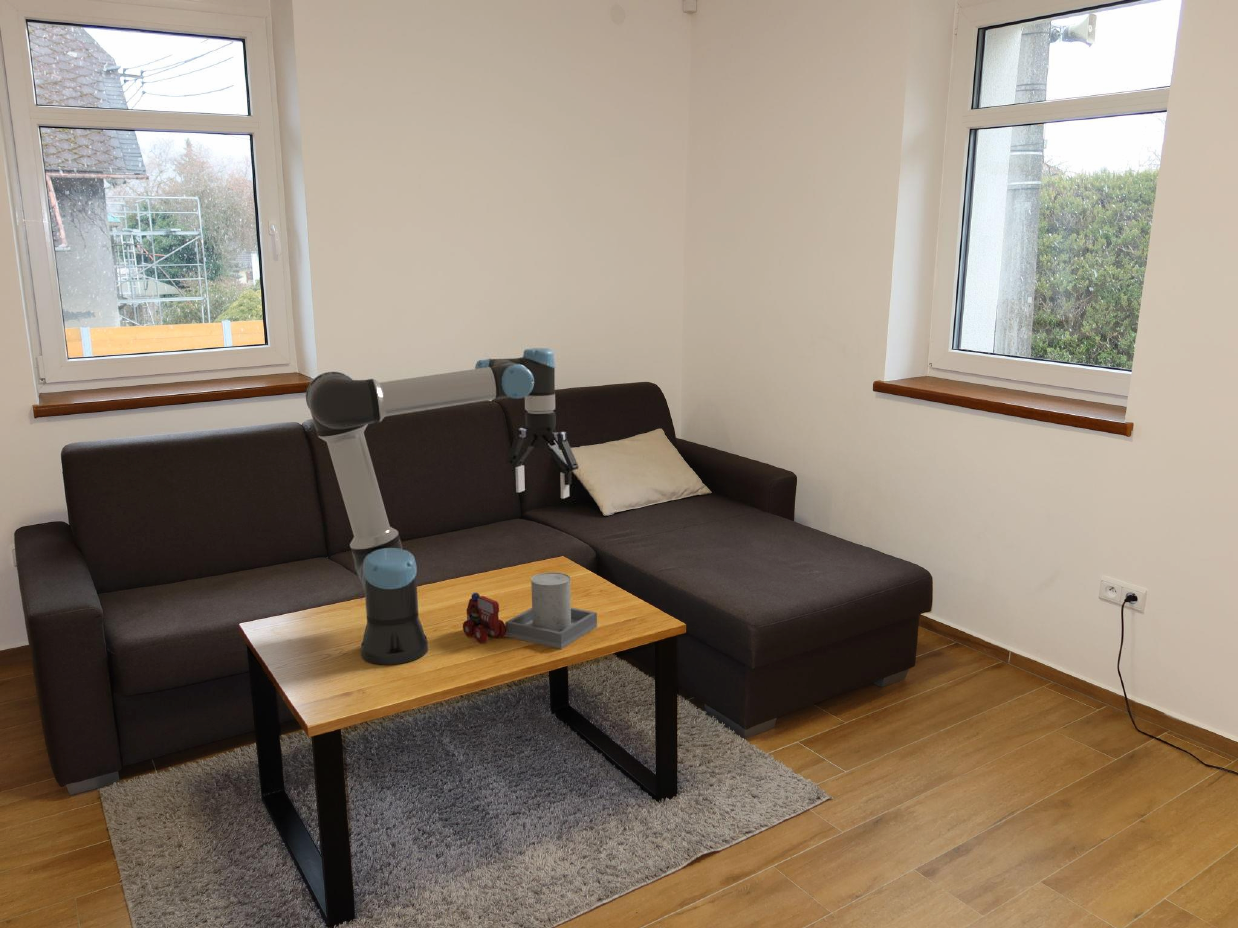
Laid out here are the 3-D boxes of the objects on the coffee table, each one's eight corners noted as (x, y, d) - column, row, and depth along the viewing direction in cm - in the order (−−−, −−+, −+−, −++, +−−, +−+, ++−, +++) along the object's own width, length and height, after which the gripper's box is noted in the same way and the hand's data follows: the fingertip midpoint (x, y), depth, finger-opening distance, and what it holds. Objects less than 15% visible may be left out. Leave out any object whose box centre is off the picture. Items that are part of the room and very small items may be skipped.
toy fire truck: (482, 625, 241) (480, 585, 239) (510, 639, 232) (509, 598, 230) (458, 632, 237) (456, 591, 235) (485, 647, 228) (484, 605, 226)
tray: (505, 636, 234) (505, 621, 233) (543, 615, 247) (542, 601, 247) (561, 649, 226) (561, 634, 225) (597, 626, 239) (596, 612, 239)
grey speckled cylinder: (570, 634, 232) (569, 585, 229) (530, 634, 232) (528, 585, 229) (572, 619, 241) (571, 572, 238) (534, 619, 241) (533, 572, 239)
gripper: (591, 412, 238) (592, 496, 242) (508, 405, 250) (511, 486, 255) (574, 416, 232) (576, 503, 236) (490, 409, 244) (493, 491, 248)
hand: (542, 494), depth 245 cm, fingers open, 13 cm apart
